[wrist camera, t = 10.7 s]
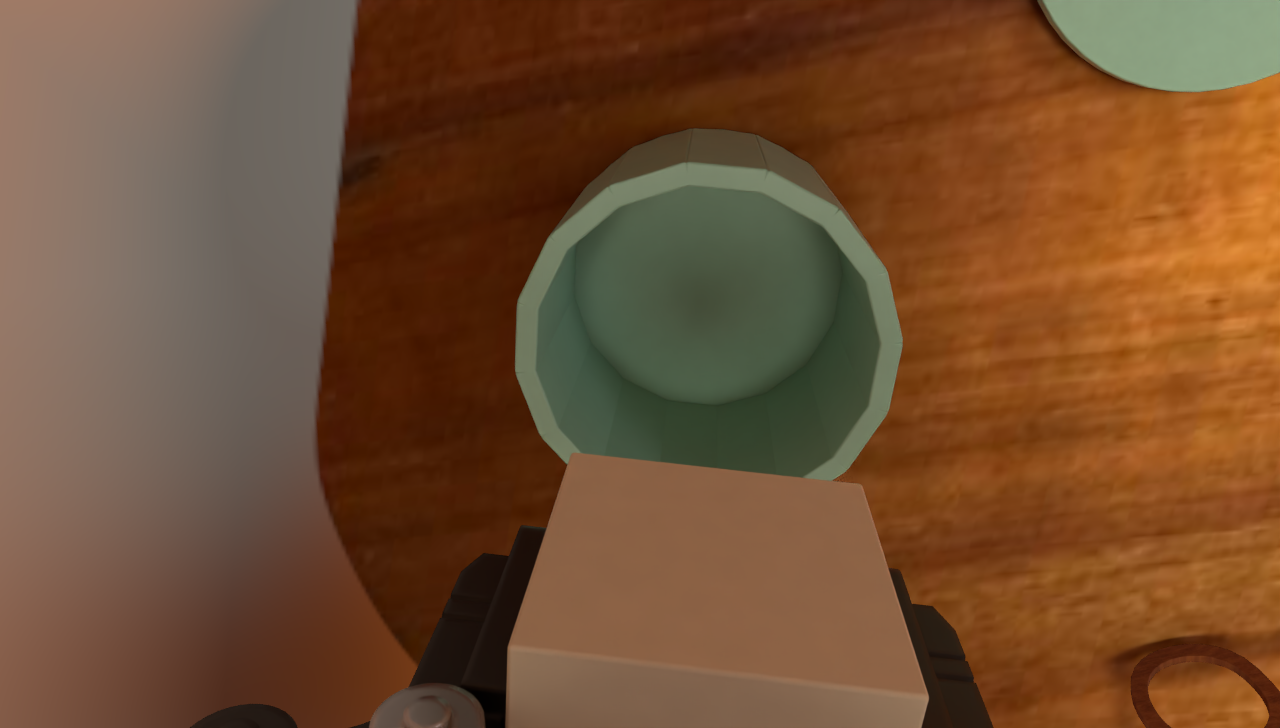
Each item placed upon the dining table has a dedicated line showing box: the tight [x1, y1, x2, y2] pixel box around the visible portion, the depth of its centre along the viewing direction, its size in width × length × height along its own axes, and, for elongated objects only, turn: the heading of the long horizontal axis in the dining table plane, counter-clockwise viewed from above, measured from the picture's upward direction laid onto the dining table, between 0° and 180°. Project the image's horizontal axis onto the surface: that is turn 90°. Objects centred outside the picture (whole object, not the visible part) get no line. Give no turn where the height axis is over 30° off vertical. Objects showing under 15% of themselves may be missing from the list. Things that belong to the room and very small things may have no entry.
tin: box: [515, 128, 903, 481], centre depth 26 cm, size 10×10×7 cm
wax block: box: [505, 453, 929, 728], centre depth 12 cm, size 4×4×4 cm
